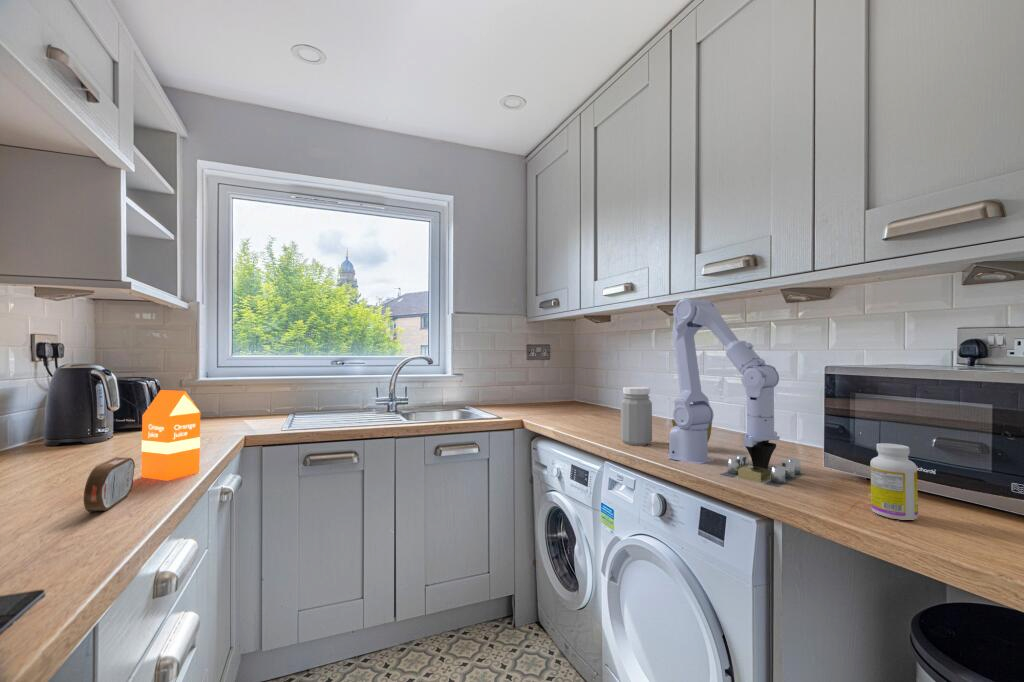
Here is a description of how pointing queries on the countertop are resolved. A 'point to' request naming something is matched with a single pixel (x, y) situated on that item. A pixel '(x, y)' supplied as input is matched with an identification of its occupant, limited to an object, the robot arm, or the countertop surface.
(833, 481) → the countertop surface
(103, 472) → the tin
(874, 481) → the supplement bottle
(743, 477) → the tan square block
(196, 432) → the orange juice
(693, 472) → the countertop surface
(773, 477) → the spacers
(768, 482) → the mat
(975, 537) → the countertop surface
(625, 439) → the jar
